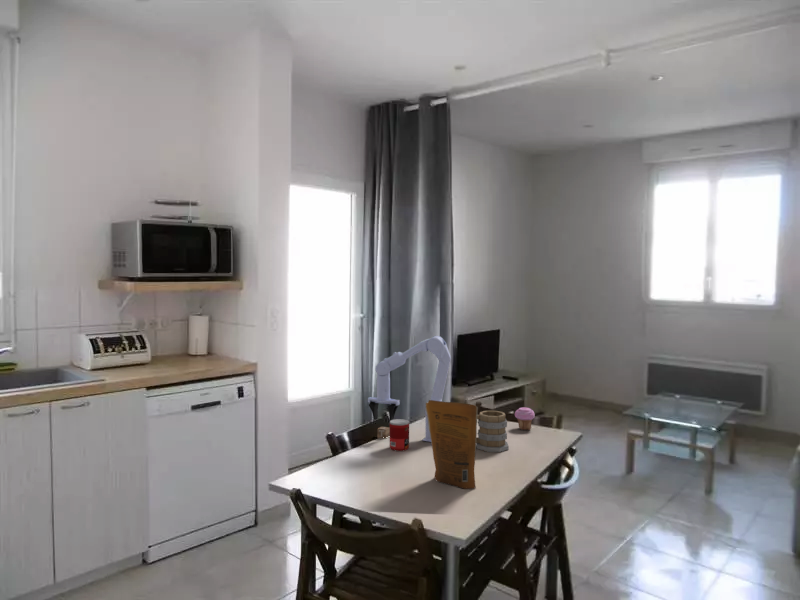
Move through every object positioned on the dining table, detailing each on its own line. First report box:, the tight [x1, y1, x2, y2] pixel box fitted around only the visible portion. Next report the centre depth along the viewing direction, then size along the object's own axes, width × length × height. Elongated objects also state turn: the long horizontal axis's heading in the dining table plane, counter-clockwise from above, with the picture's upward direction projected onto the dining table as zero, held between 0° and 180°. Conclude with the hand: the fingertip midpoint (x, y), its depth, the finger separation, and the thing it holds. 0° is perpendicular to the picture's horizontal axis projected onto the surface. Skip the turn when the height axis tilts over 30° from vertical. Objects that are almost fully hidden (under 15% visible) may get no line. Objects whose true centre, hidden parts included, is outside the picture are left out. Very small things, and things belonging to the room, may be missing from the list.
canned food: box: [389, 418, 410, 452], centre depth 225 cm, size 8×8×11 cm
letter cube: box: [376, 426, 390, 439], centre depth 242 cm, size 4×4×4 cm
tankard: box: [476, 410, 509, 453], centre depth 227 cm, size 20×13×15 cm, turn 84°
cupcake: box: [514, 406, 536, 431], centre depth 255 cm, size 9×9×10 cm
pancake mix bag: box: [425, 399, 479, 490], centre depth 186 cm, size 7×19×28 cm, turn 51°
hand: (383, 420), depth 241 cm, fingers open, 7 cm apart
